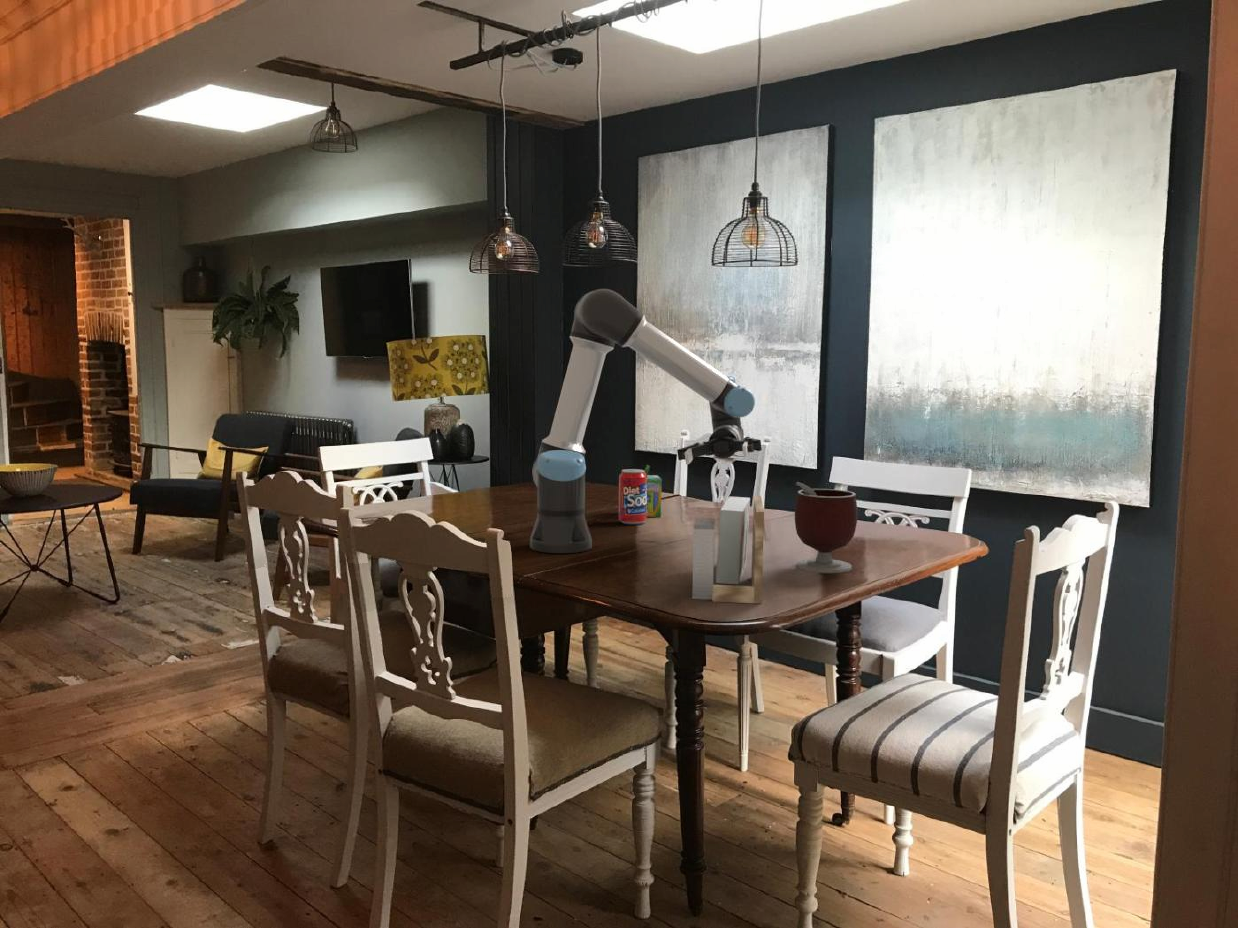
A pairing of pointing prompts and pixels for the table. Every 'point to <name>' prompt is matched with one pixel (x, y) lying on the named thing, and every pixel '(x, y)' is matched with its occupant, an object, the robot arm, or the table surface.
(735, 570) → the skincare box
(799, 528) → the mate gourd
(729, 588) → the oak shelf corner
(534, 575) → the table surface
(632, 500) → the soda can
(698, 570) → the grey carton
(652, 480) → the juice box
